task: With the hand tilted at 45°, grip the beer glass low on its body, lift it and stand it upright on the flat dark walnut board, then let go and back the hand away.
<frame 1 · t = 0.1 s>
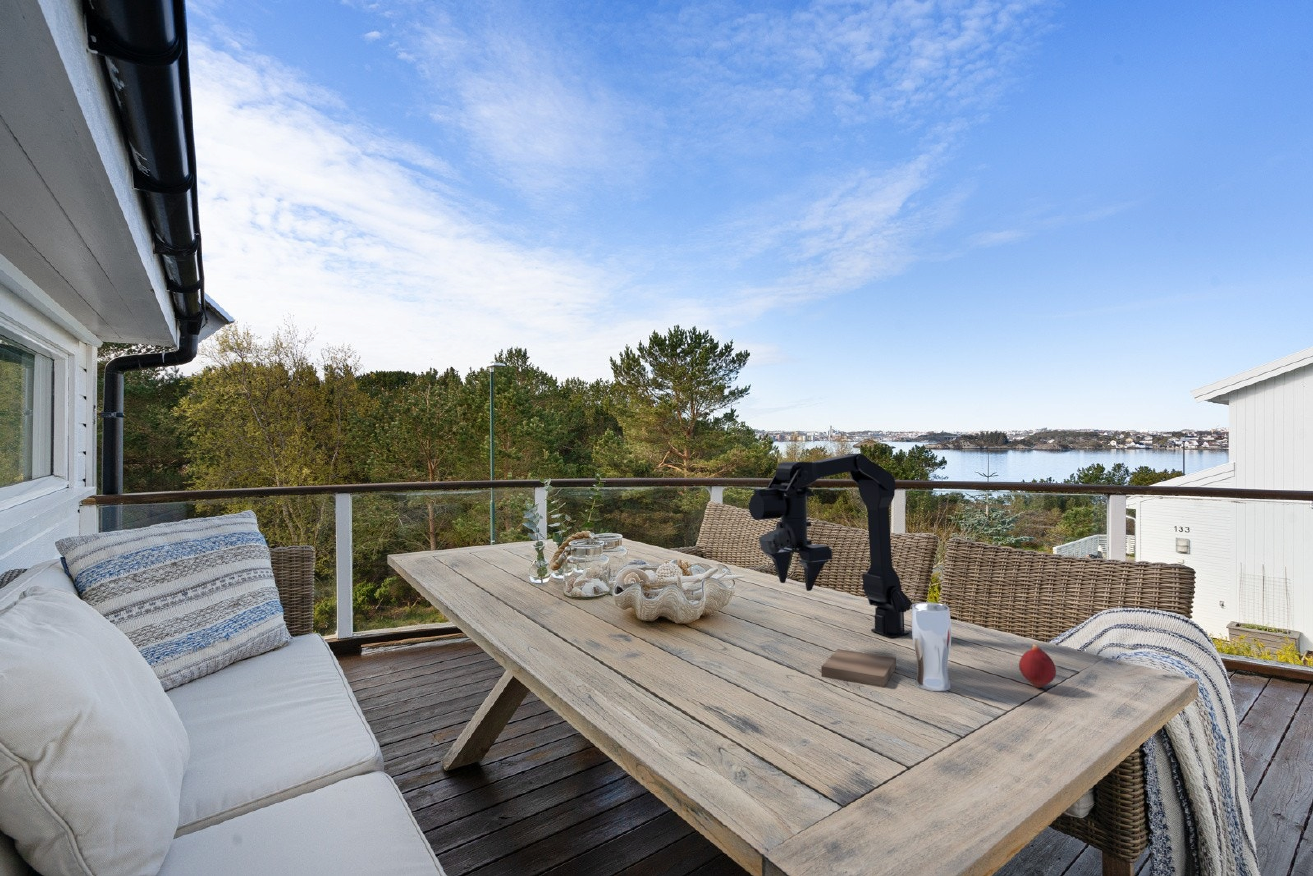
hand: (795, 586, 139), 15 cm above the table, tool pointing down, fingers open, 9 cm apart
beer glass: (932, 686, 118), on the table
onion: (1038, 688, 116), on the table
walnut board: (859, 671, 126), on the table
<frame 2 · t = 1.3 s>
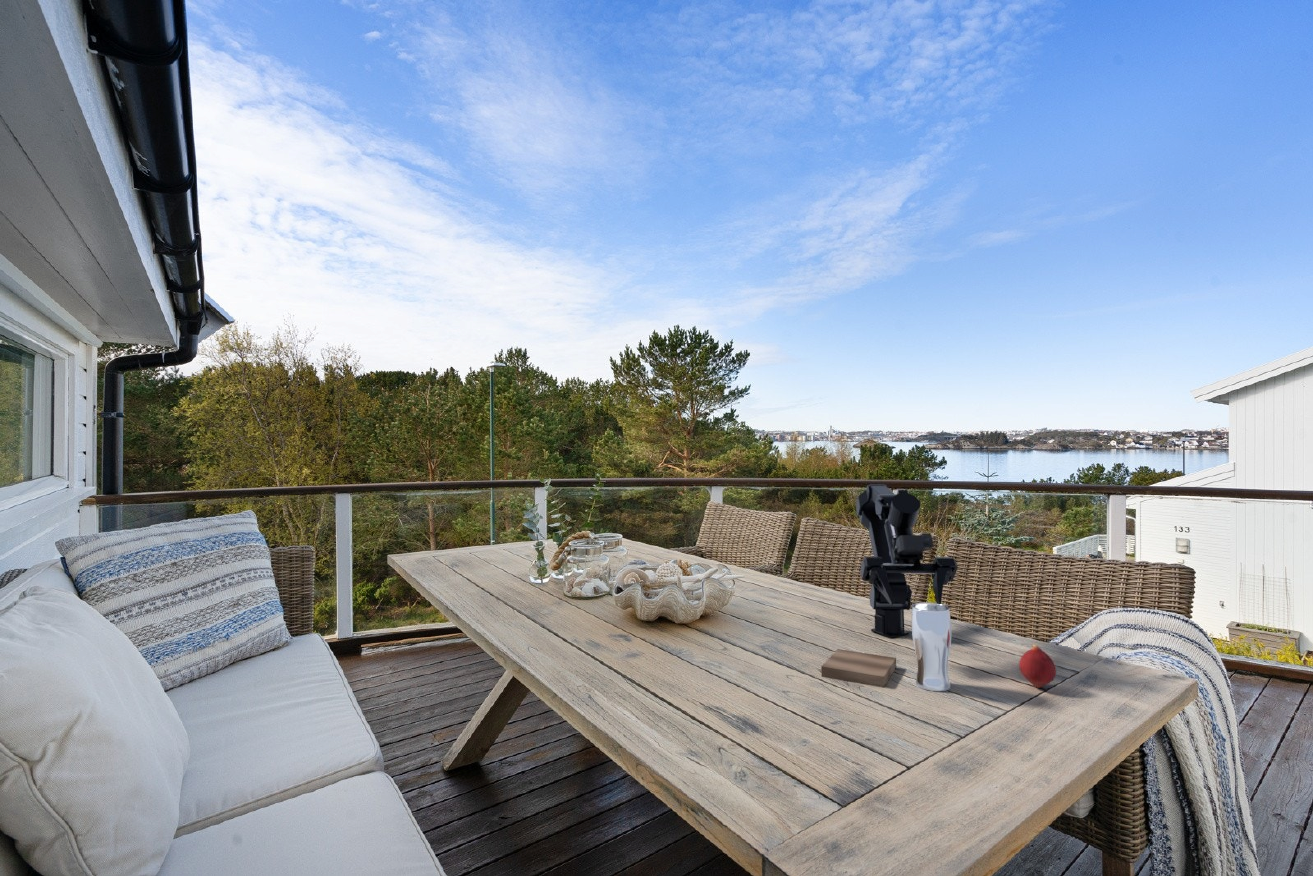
hand: (915, 604, 127), 13 cm above the table, tool tilted 45°, fingers open, 9 cm apart
nothing on the table moved.
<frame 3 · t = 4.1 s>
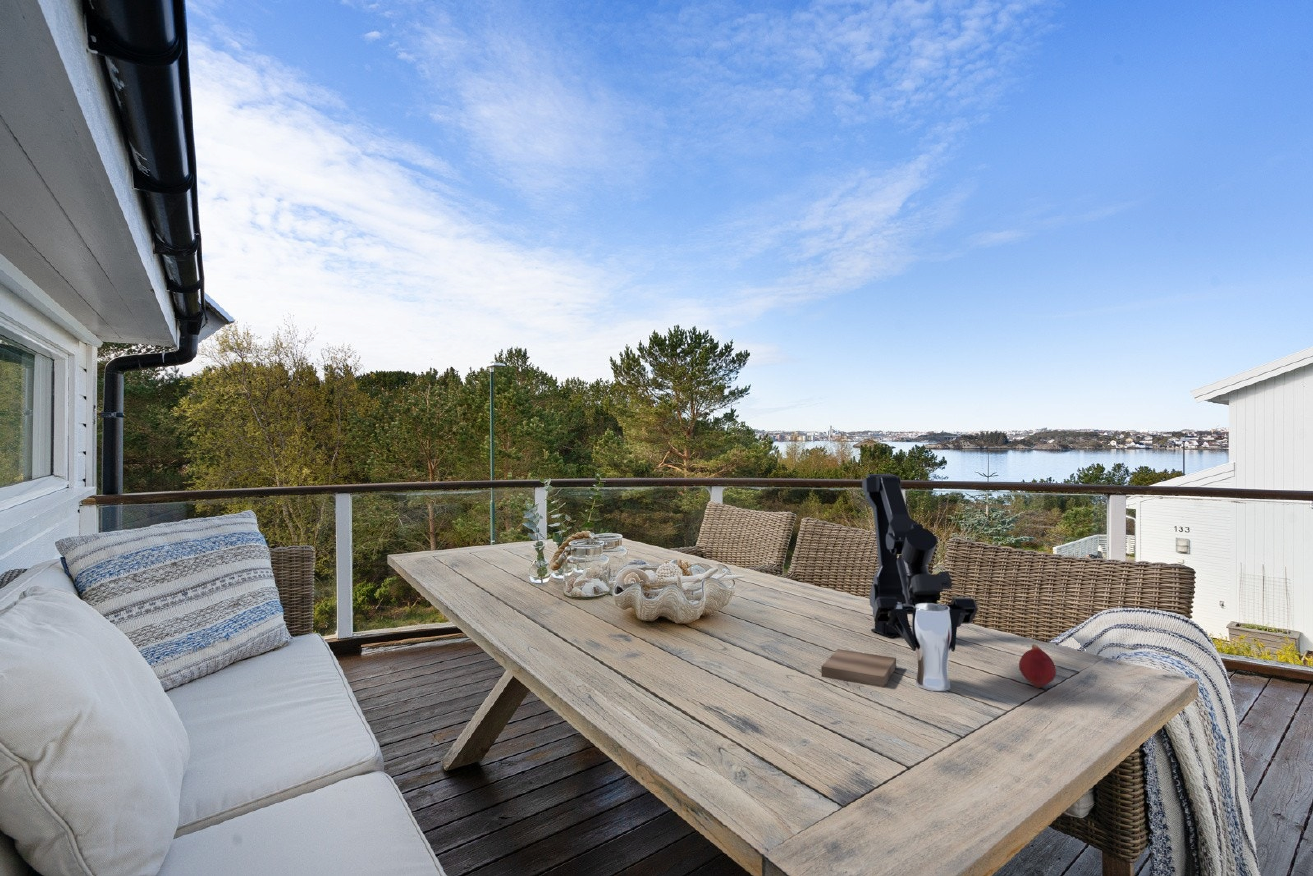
hand: (934, 650, 117), 7 cm above the table, tool tilted 45°, fingers closed on beer glass, 7 cm apart
beer glass: (932, 686, 118), on the table, touching gripper
everything else where it was.
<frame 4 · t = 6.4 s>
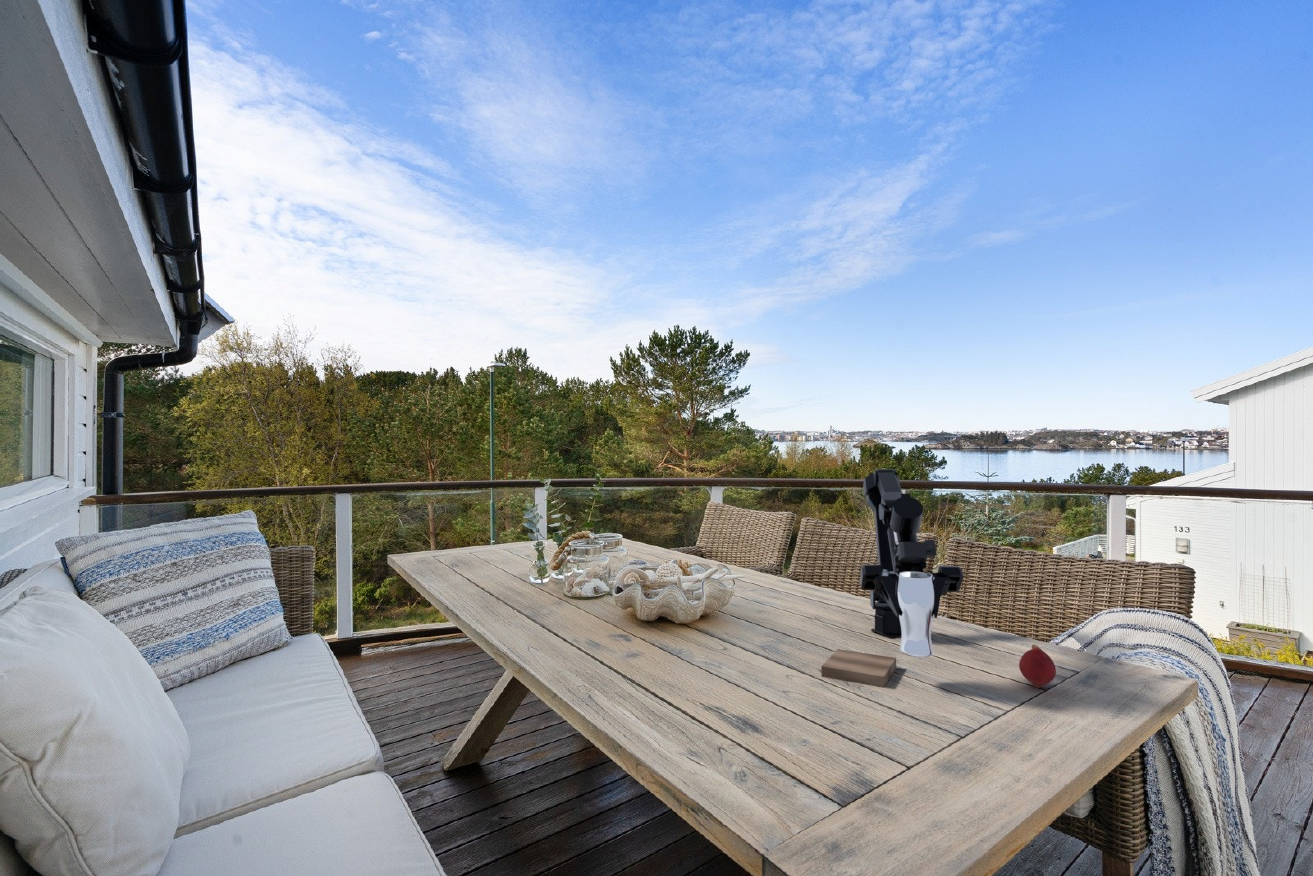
hand: (917, 616, 119), 13 cm above the table, tool tilted 45°, fingers closed on beer glass, 6 cm apart
beer glass: (916, 653, 120), point 6 cm above the table, touching gripper
everything else where it was.
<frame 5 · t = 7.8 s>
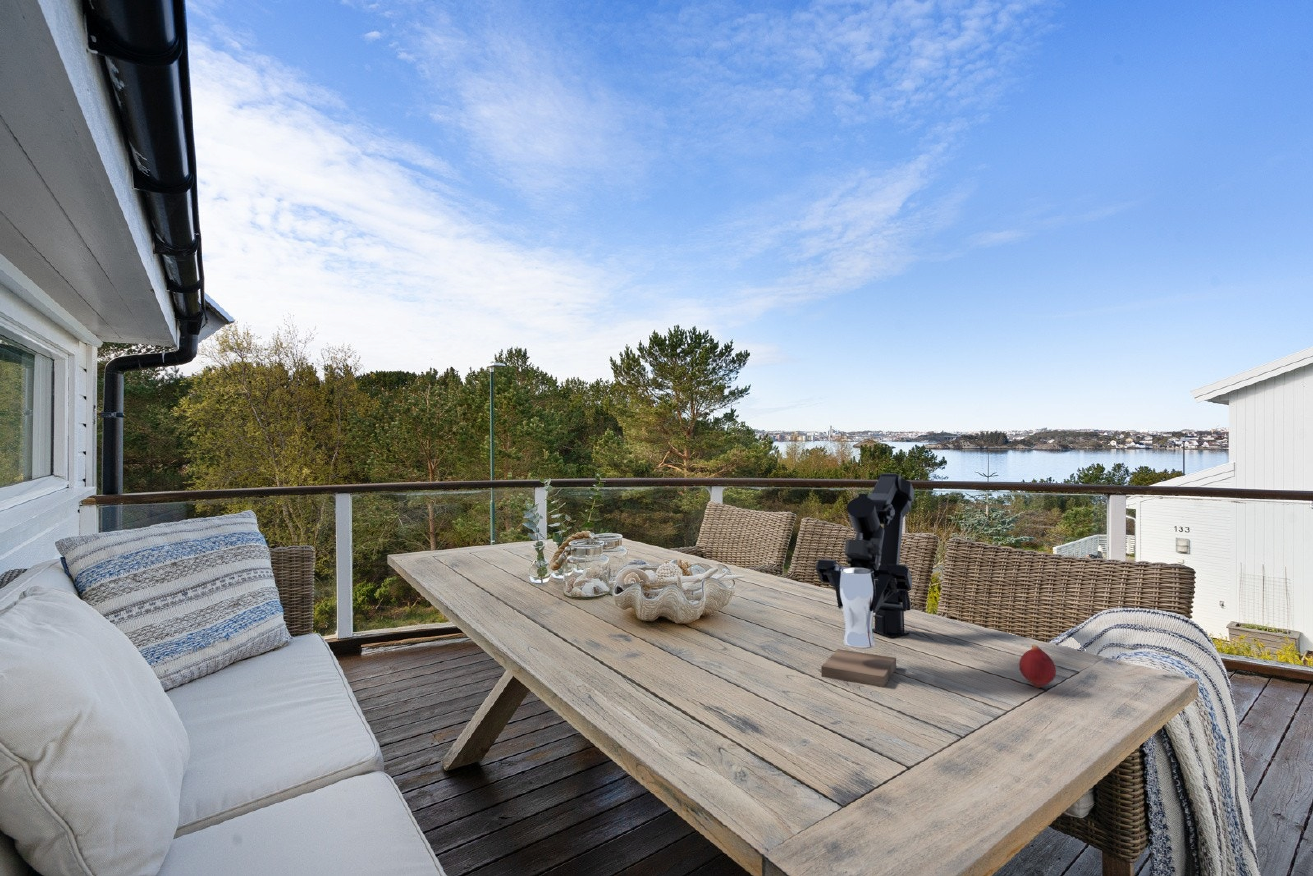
hand: (856, 609, 125), 13 cm above the table, tool tilted 45°, fingers closed on beer glass, 6 cm apart
beer glass: (859, 644, 127), point 5 cm above the table, touching gripper
everything else where it was.
when the fingers open (10 cm above the table, at t = 8.9 s): beer glass stays where it is, resting on walnut board.
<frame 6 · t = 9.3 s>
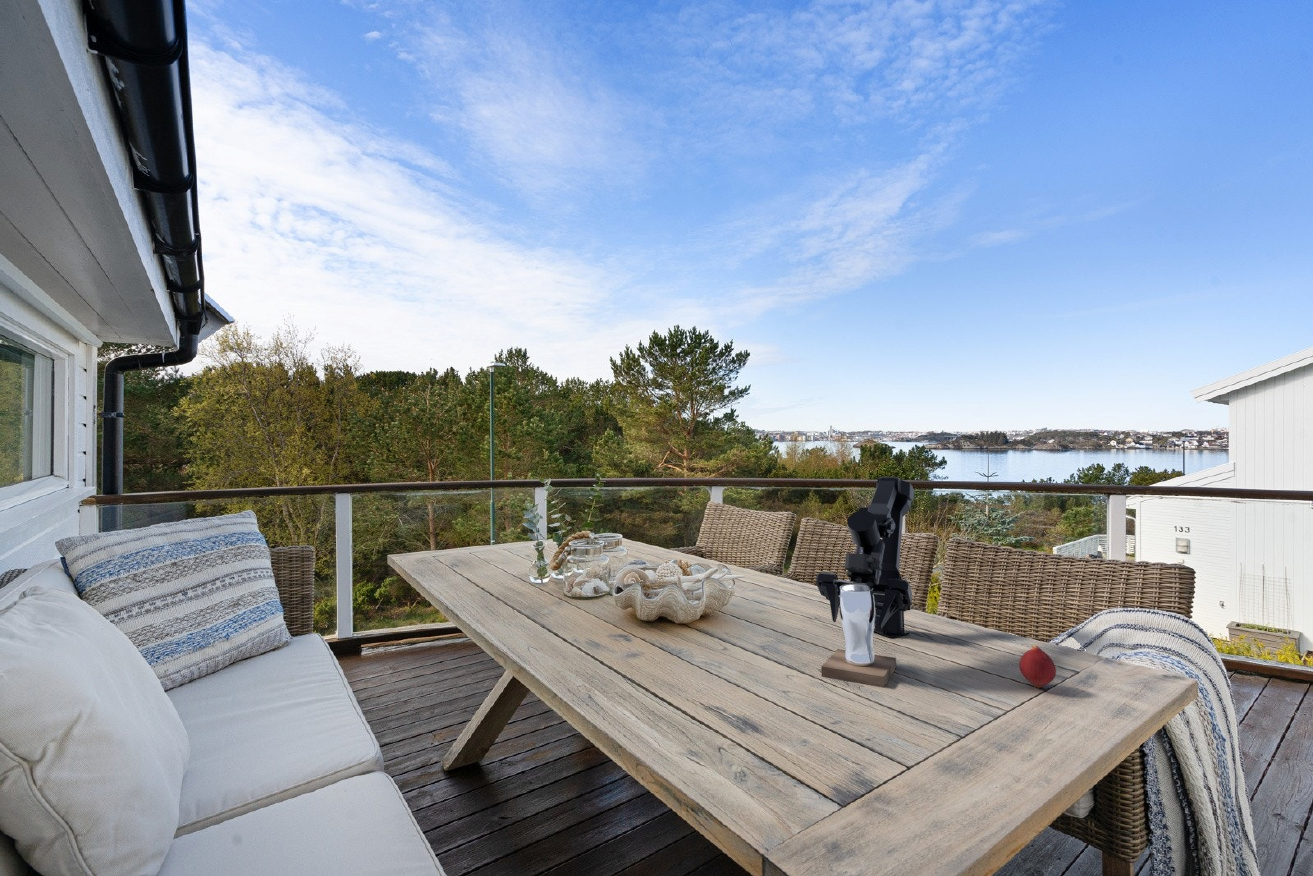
hand: (856, 624, 125), 10 cm above the table, tool tilted 45°, fingers open, 9 cm apart
beer glass: (859, 661, 127), point 2 cm above the table, touching gripper, walnut board
everything else where it was.
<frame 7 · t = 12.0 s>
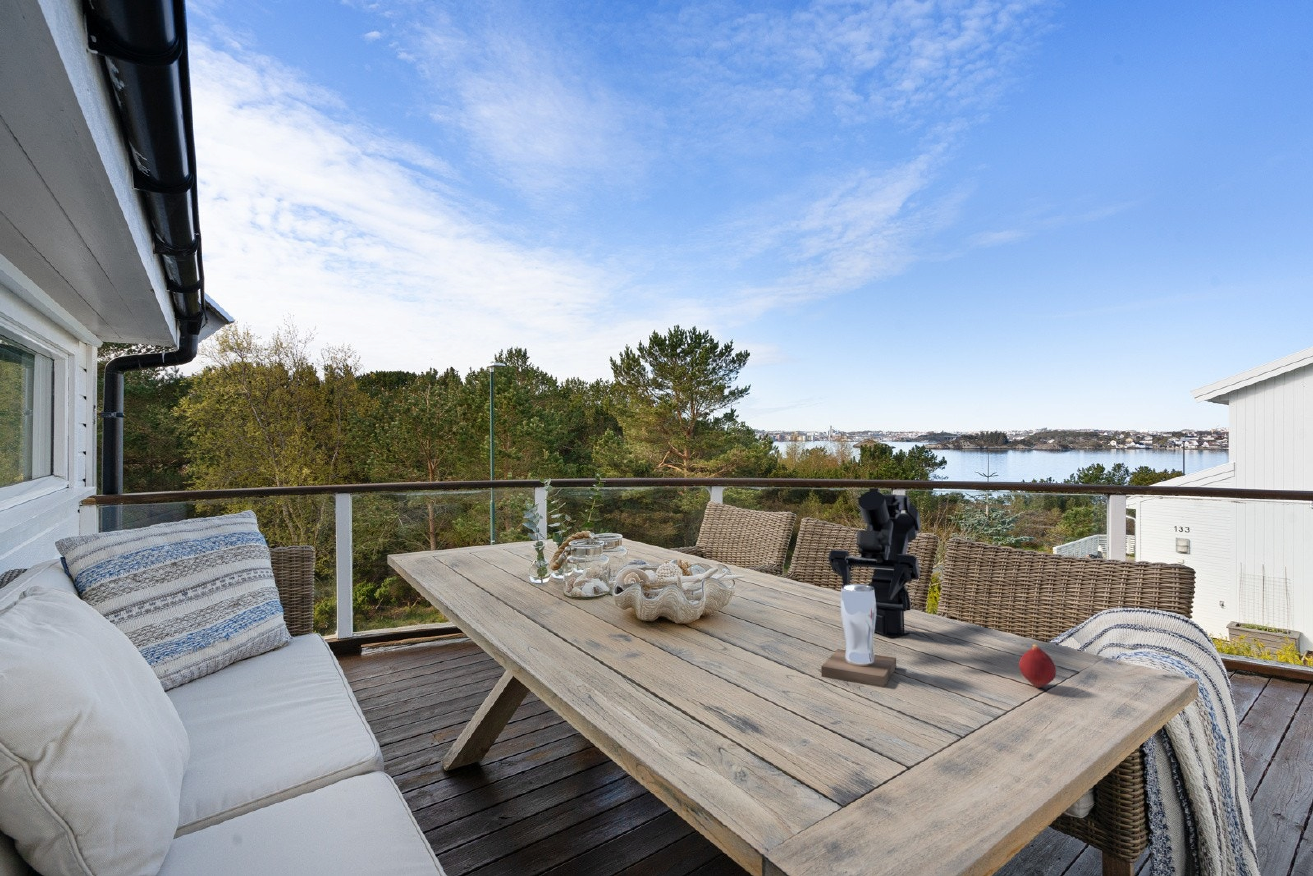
hand: (867, 596, 133), 14 cm above the table, tool tilted 45°, fingers open, 9 cm apart
beer glass: (859, 662, 127), point 2 cm above the table, touching walnut board
everything else where it was.
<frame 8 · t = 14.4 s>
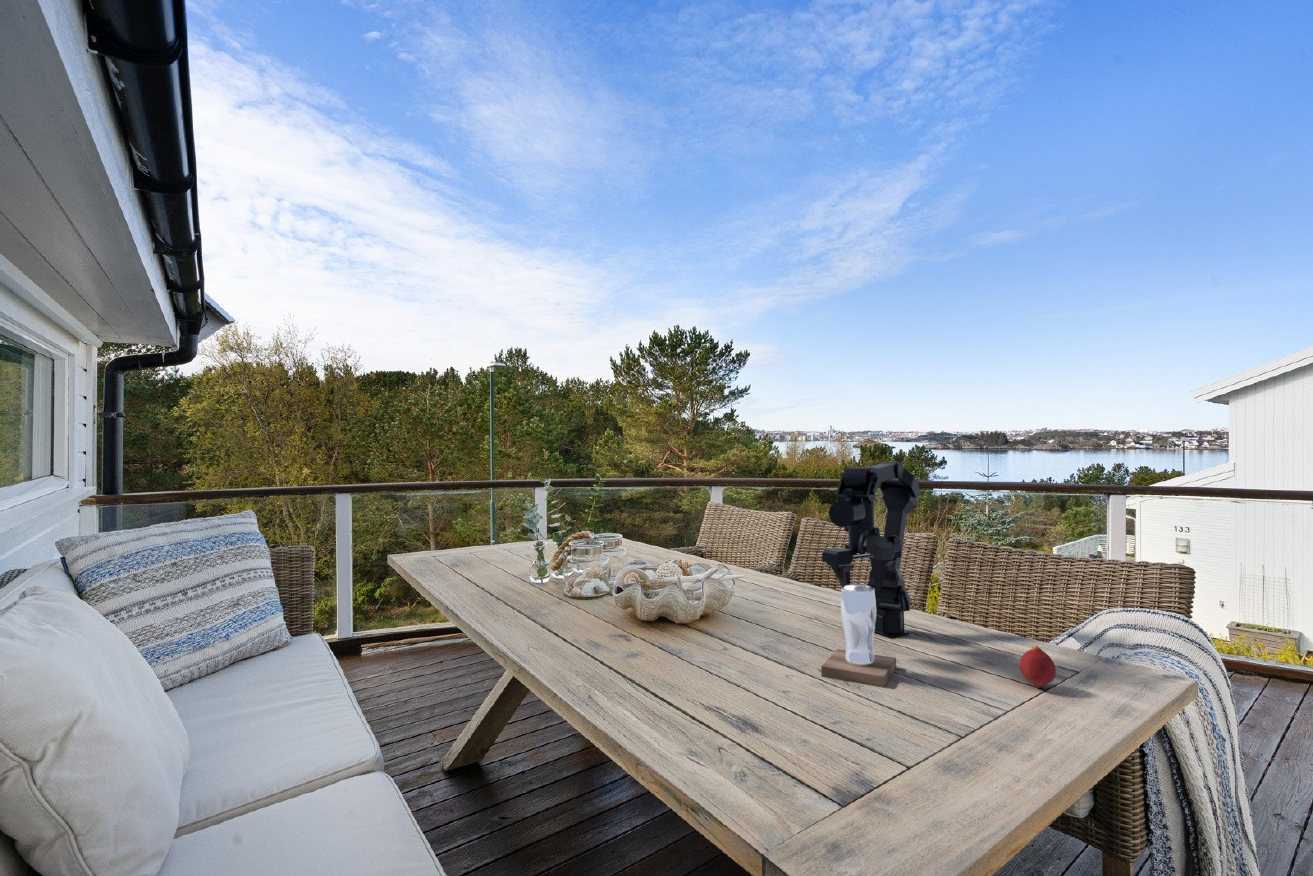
hand: (862, 591, 140), 13 cm above the table, tool pointing down, fingers open, 9 cm apart
nothing on the table moved.
at the end: beer glass inside the target area on the walnut board (0.5 cm from its centre), point 1.8 cm above the walnut board's base; beer glass tilted 0°; the gripper is holding nothing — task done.
